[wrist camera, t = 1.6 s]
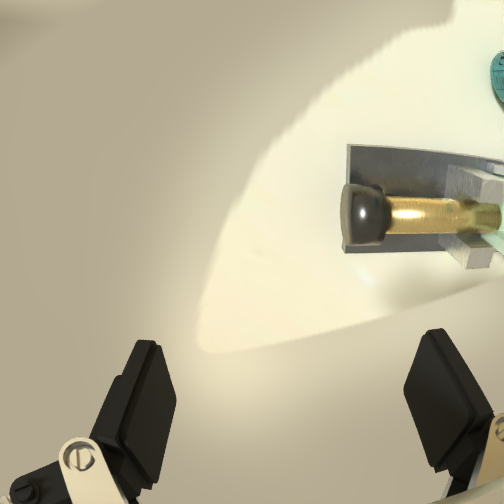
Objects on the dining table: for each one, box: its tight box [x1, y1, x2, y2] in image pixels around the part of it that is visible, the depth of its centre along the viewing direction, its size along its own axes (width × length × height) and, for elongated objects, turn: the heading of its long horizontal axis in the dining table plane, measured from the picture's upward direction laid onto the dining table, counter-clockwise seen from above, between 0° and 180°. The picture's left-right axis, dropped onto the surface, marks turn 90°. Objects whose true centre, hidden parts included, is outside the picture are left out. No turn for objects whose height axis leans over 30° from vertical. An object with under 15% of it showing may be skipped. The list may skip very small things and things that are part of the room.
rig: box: [342, 144, 504, 269], centre depth 25 cm, size 24×10×7 cm, turn 92°
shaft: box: [340, 184, 502, 246], centre depth 24 cm, size 15×5×5 cm, turn 92°
